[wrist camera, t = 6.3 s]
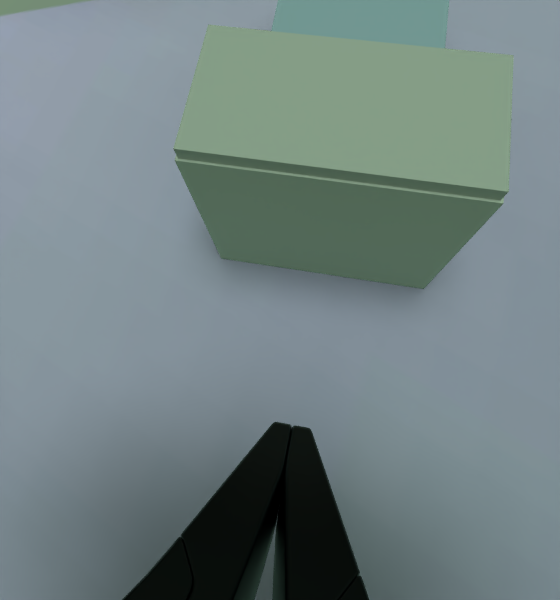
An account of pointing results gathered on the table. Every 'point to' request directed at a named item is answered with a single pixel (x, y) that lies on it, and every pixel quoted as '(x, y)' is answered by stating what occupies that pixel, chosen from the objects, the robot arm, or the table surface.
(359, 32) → the blue book
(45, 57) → the table surface
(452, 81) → the green book
